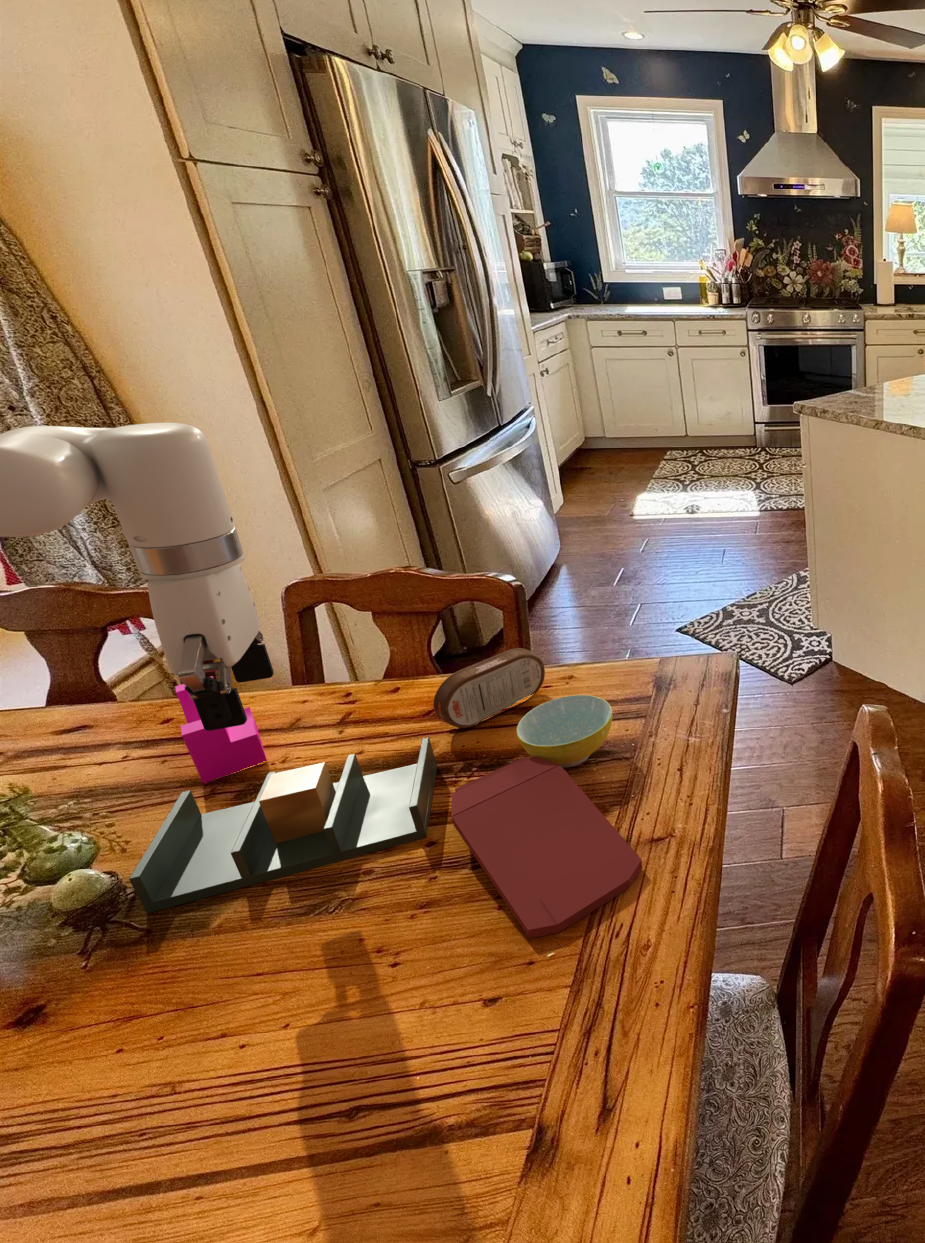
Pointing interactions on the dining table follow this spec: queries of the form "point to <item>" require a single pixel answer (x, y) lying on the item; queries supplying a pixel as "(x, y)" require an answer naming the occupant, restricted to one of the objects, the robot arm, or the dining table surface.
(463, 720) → the tin
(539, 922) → the carton
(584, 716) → the bowl
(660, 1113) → the dining table surface
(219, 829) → the rack
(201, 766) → the toy block
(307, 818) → the package
